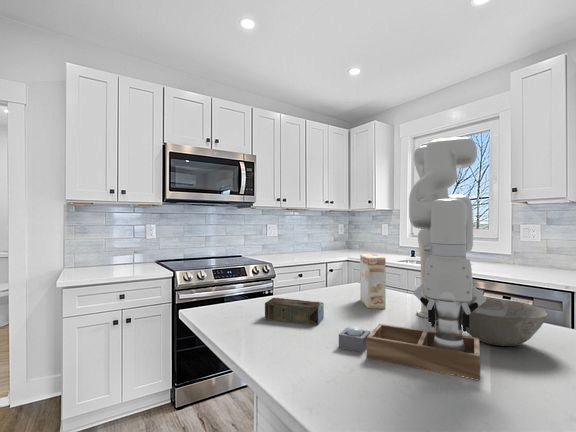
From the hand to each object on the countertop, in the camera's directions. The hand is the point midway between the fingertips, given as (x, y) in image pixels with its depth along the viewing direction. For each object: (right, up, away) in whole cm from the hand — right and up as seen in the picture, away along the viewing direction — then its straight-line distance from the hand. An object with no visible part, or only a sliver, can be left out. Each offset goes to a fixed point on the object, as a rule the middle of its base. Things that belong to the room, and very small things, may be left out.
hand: (448, 327), depth 79 cm
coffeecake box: (-4, -10, +57) cm, 57 cm away
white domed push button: (-20, -6, +11) cm, 24 cm away
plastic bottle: (0, -7, 0) cm, 7 cm away
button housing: (-20, -9, +11) cm, 24 cm away
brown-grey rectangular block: (-36, -9, +35) cm, 51 cm away
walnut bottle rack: (-5, -8, +2) cm, 10 cm away
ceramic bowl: (+20, -9, +14) cm, 26 cm away
